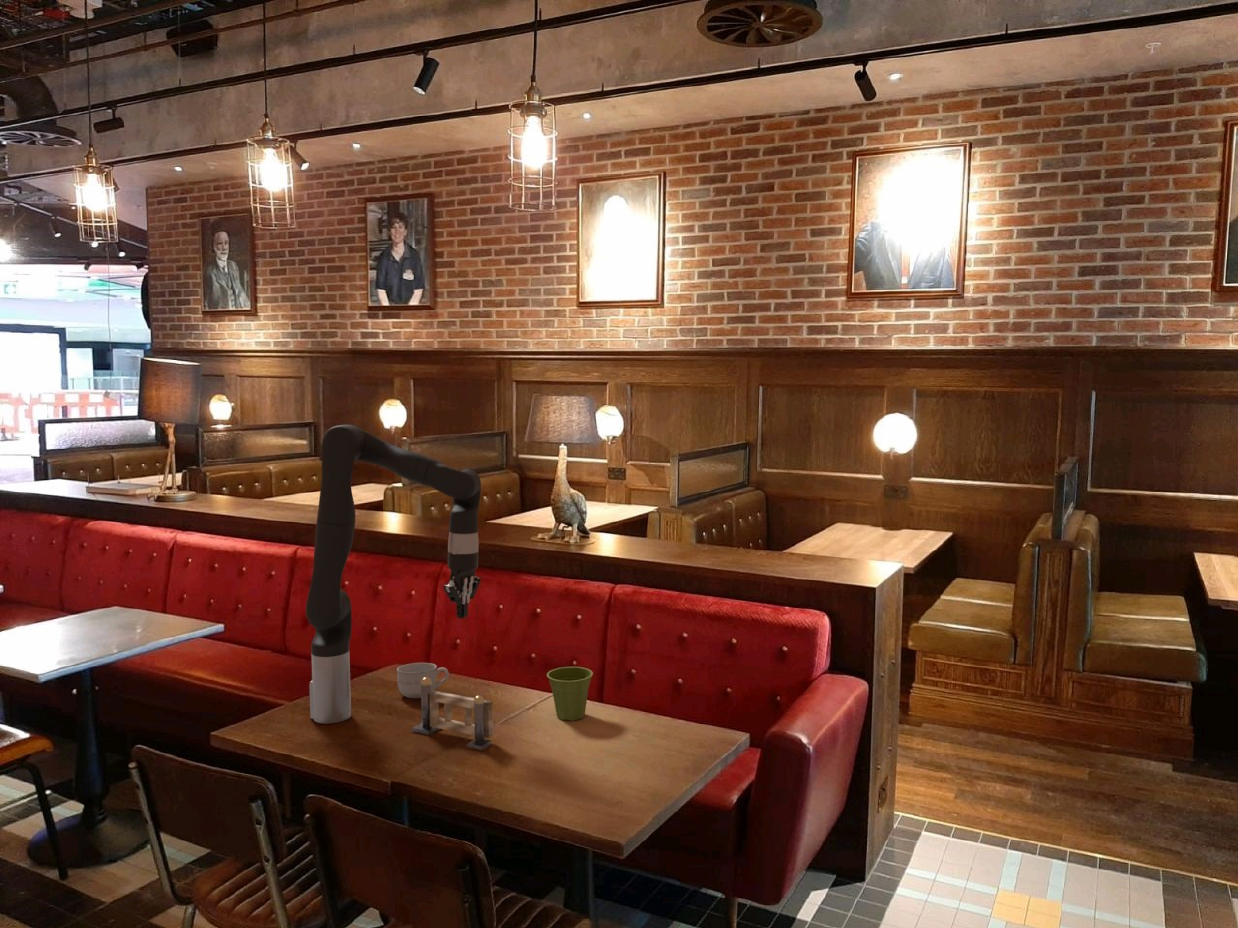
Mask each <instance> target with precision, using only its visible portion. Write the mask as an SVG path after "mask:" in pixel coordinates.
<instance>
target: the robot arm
mask: <svg viewBox="0 0 1238 928" xmlns="http://www.w3.org/2000/svg"><path fill="white" fill-rule="evenodd" d="M355 461H357V462H365V463H369V464H373V465H377V466H378V467H382V468H384V469H386V470H388V471H390V472H392V473H394V474H395V475H397V476H399V477H401V478H403V479H405V480H408V481H411V482H413V483H416V484H419V485H422V486H425V487H428V488H432V489H434V490H435V491H438V492H439V493H442V494H444V495H445V496H448V497H450V498H453V500H452V501H453V502H452V503H453V504H452V509H451V510H450V512H449V513H450V514H449V521H448V522H449V526H448V527H449V529H448V530H449V532H448V533H449V534H448V540H447V568H448V569H449V570H450V574H449V575H450V576H449V581H448V583H447V584H444V585H443V587H442V588H443V590H444V592H445V594H446V596H447V597H448V599H449V601H450V602H451V603H454V604H455V605H456V613H455V614H456V618H458V619H462V620H463V619H466V618H468V615H469V614H468V613H469V611H468V610H469V603H470V601H471V600H473V599H475V595H476V593H477V591H478V588H479V586H480V584H481V582H482V577H478V576H476V570H477V569H478V568H479V542H480V541H479V532H478V531H479V522H478V521H479V517H478V515H479V507H480V500H481V491H482V483H481V479H480V476H479V474H478V473H477V472H476V471H475V470H472V469H470V468H469V469H468V468H466V469H461V470H459V469H456V468H453V467H451V466H450V467H449V466H448V465H445V464H444V463H443V462H442V461H441V460H437V459H435V458H432V457H429V456H428V455H427V456H426V455H424V454H420V453H418V452H415V451H412V450H408V449H407V448H406V449H405V448H403V447H399V446H397V445H394V444H391V443H389V442H387V441H384V440H382V439H380V438H378V437H376V436H374V435H373V434H371V433H368V432H367V431H365V430H364V429H361V428H359V427H357V426H356V425H353V424H340V425H335V426H332V427H330V428H329V429H328V430H327V431H326V432H325V433H324V435H323V437H322V441H321V481H320V482H321V483H320V492H319V497H318V498H319V500H318V509H317V516H316V524H315V534H314V535H315V536H314V537H315V538H314V549H313V550H314V551H313V563H312V576H311V581H310V586H309V590H308V595H307V600H306V604H305V615H306V619H307V621H308V623H309V624H310V626H312V627H313V628H315V631H314V632H315V633H314V636H313V639H312V641H311V645H310V647H311V648H310V652H311V653H310V655H311V681H310V682H309V688H308V689H309V714H310V716H309V717H310V719H312V720H313V721H314V722H315V723H318V724H325V725H326V724H329V725H331V724H337V723H340V722H345V721H346V720H349V719H350V718H351V717H352V701H351V699H352V698H351V672H350V671H351V665H350V664H351V663H350V644H351V643H350V642H351V638H352V631H353V630H352V626H353V625H352V624H353V623H352V618H353V617H352V616H353V615H352V614H353V612H352V611H353V610H352V602H351V598H350V596H349V594H348V593H347V592H346V591H345V590H344V589H342V588H341V585H342V578H343V577H342V576H343V573H344V570H345V567H346V563H347V561H348V559H349V556H350V554H351V553H350V552H351V550H352V547H353V542H354V536H355V528H356V507H355V502H354V497H353V492H352V478H353V471H354V470H353V469H354V466H355V465H354V464H355Z"/></svg>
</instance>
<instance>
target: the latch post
mask: <svg viewBox="0 0 1238 928" xmlns="http://www.w3.org/2000/svg"><path fill="white" fill-rule="evenodd" d="M473 698H474V709H473V710H474V711H473V712H474V713H473V714H474V721H473V722H474V724H475V735H474V739H473V740H471V741H469V742H467V748H468V749H471V750H472V749H473V750H476V749H477V751H483V749H484V750H485V749H487V748H488V747H490V746H491V745H492V740H491V739H487V738H485V737H484V700H485V699H484V696H482V695H476V696H475V697H473Z"/></svg>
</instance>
